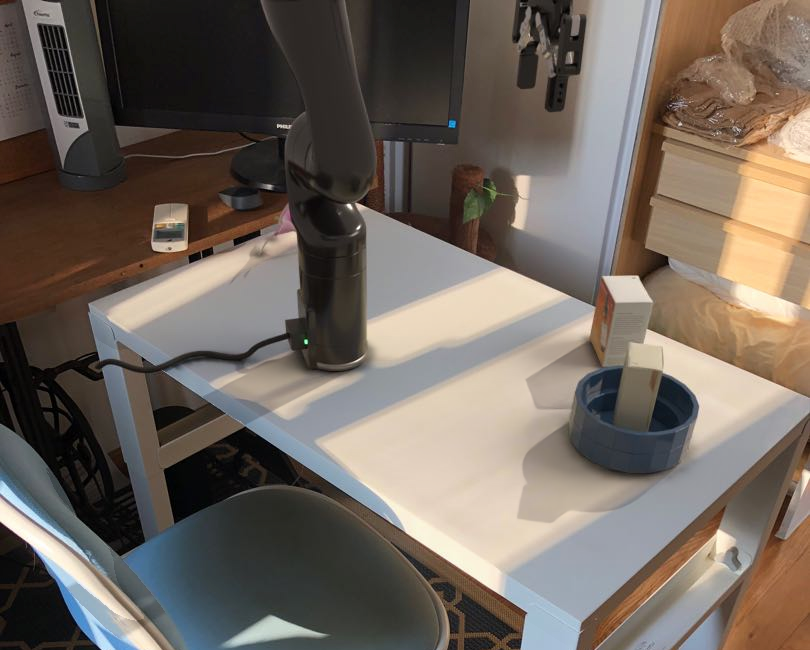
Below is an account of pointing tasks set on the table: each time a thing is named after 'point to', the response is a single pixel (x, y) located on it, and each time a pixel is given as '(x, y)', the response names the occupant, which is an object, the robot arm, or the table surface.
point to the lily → (283, 224)
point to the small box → (619, 318)
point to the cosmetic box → (638, 387)
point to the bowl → (626, 446)
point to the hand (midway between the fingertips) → (539, 99)
